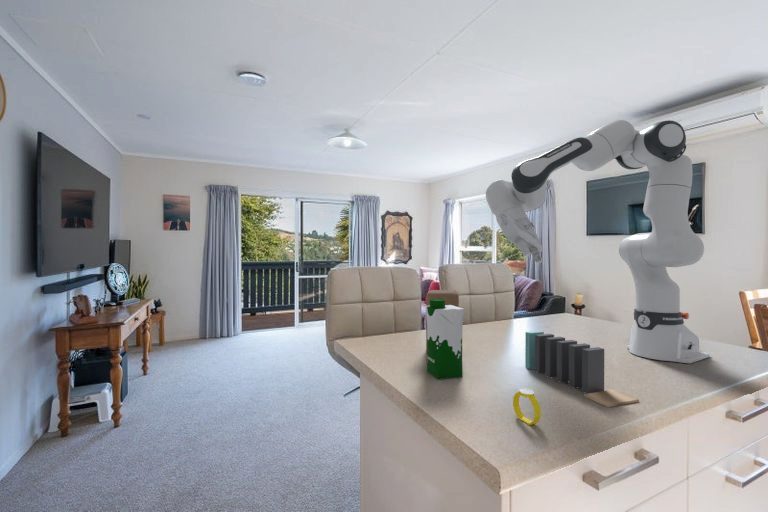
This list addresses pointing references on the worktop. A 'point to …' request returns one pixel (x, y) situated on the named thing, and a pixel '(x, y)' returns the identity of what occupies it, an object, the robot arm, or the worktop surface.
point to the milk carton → (444, 339)
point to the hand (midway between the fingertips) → (533, 258)
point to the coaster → (611, 398)
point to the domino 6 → (592, 370)
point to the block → (448, 295)
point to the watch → (536, 406)
